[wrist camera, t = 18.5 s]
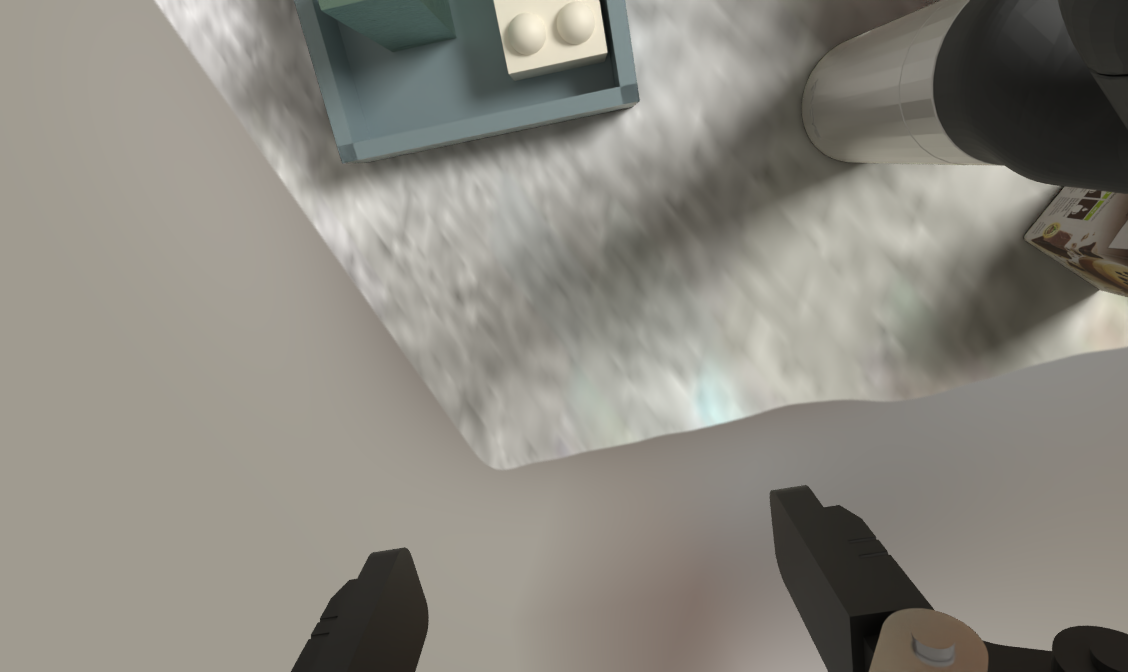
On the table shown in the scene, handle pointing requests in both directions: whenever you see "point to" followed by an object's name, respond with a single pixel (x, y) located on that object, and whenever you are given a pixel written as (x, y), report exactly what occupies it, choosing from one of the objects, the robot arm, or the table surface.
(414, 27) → the tea tin
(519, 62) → the egg carton
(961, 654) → the robot arm
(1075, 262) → the coffee box
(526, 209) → the table surface
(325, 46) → the tray
